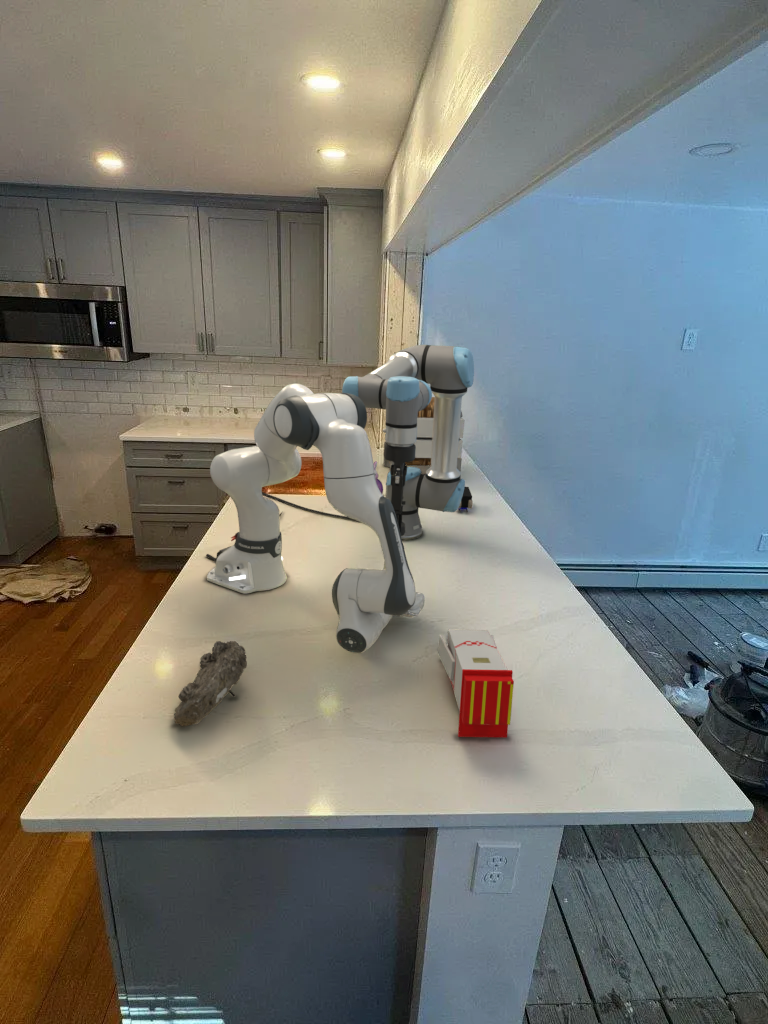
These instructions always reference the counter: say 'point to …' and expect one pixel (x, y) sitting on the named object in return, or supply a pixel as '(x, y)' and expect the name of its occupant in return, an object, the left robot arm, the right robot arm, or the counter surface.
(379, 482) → the figurine
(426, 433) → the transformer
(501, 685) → the toy
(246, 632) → the counter surface
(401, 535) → the cap
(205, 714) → the fossil
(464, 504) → the figurine character
